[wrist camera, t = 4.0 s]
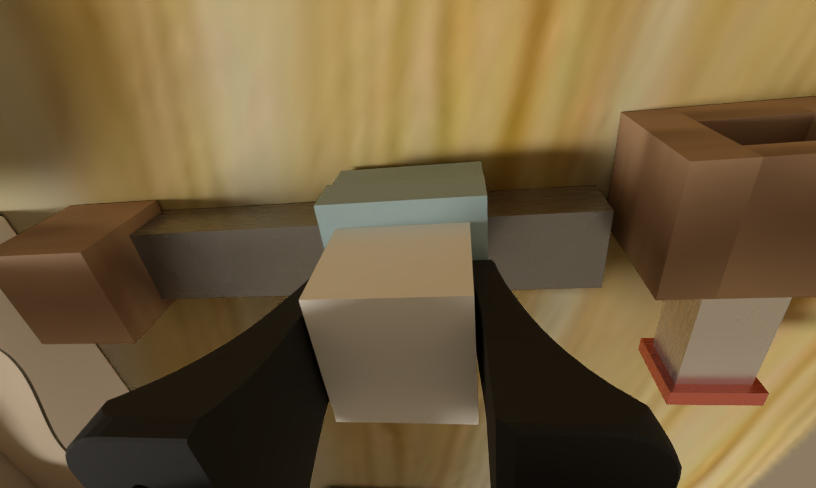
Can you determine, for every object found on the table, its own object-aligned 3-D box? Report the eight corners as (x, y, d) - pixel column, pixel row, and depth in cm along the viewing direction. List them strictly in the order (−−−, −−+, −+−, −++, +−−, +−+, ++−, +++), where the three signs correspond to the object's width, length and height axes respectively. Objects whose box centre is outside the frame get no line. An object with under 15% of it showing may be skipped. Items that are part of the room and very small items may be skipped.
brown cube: (193, 280, 19) (134, 343, 15) (115, 282, 19) (42, 344, 16) (156, 200, 17) (80, 252, 13) (70, 205, 17) (-24, 257, 14)
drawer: (720, 348, 16) (763, 405, 14) (638, 349, 16) (666, 404, 14) (768, 221, 13) (831, 267, 11) (667, 226, 14) (708, 271, 11)
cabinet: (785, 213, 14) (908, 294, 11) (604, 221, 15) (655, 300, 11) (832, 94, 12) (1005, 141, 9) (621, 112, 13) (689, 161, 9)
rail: (586, 256, 16) (601, 287, 14) (189, 271, 19) (162, 299, 17) (595, 185, 15) (614, 210, 13) (161, 211, 17) (128, 235, 15)
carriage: (483, 294, 17) (497, 443, 11) (366, 297, 18) (325, 438, 12) (481, 155, 14) (497, 264, 8) (340, 165, 15) (268, 272, 9)
